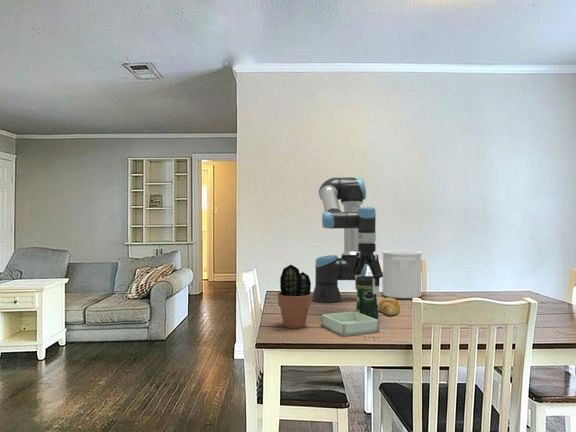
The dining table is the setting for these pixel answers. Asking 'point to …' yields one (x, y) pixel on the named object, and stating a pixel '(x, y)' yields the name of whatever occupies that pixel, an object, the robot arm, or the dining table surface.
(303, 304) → the potted plant
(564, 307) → the dining table surface
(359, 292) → the coffee jar
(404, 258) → the bucket
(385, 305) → the croissant
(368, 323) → the bin
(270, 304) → the dining table surface
